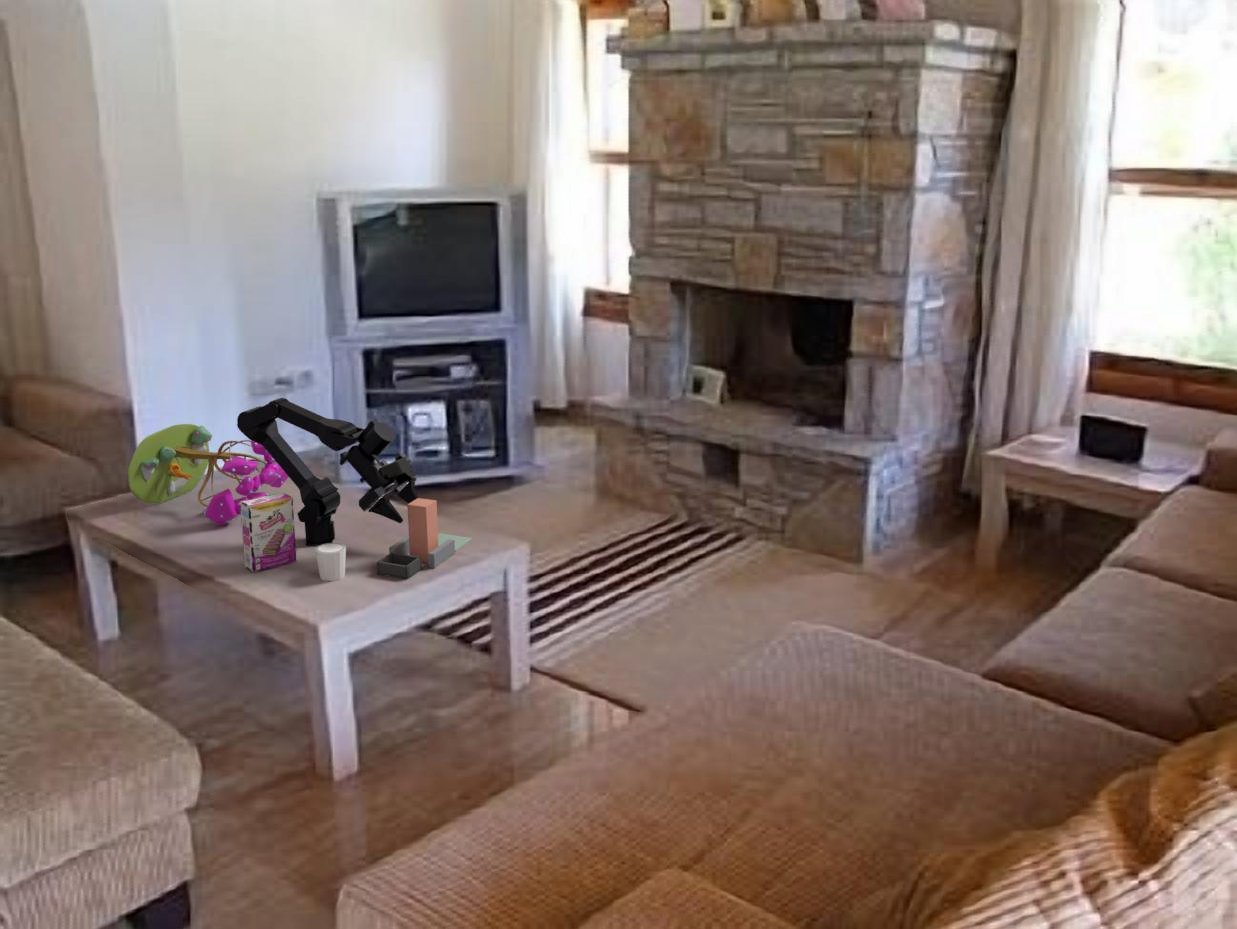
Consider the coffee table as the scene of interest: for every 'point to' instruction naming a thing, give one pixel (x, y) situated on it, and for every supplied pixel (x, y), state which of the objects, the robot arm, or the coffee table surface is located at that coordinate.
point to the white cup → (331, 561)
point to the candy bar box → (268, 531)
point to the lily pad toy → (197, 470)
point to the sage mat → (458, 540)
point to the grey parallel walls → (434, 556)
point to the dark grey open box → (399, 565)
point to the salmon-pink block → (422, 527)
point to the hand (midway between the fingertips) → (411, 515)
